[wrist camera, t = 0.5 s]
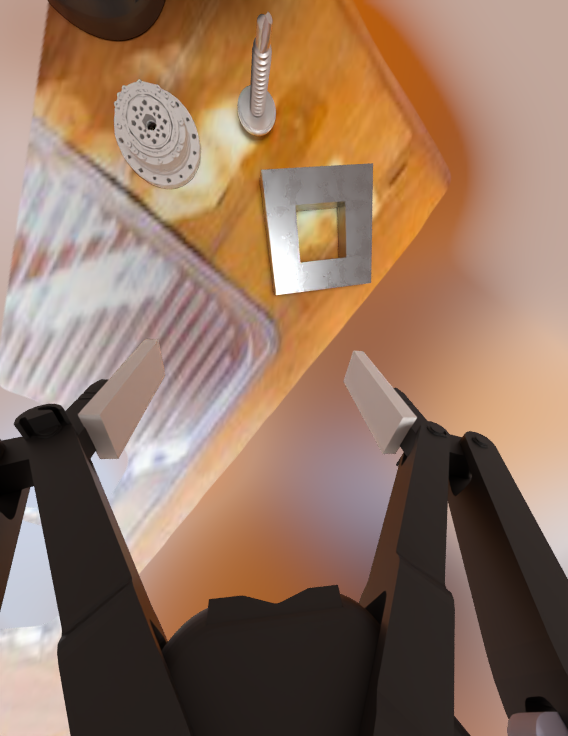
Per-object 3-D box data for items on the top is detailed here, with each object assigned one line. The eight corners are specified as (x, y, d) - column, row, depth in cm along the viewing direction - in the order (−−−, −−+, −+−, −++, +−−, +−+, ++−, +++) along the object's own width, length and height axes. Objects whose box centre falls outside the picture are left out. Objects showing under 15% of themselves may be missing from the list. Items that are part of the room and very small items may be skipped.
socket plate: (259, 179, 33) (261, 169, 30) (362, 173, 35) (372, 163, 33) (273, 294, 39) (276, 295, 36) (362, 283, 41) (370, 282, 38)
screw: (232, 129, 31) (246, 88, 30) (264, 152, 32) (279, 113, 31) (226, 26, 19) (250, -49, 18) (278, 70, 20) (303, 3, 19)
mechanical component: (177, 207, 33) (215, 141, 31) (168, 195, 29) (211, 119, 27) (105, 148, 30) (144, 71, 28) (83, 125, 25) (127, 34, 24)
